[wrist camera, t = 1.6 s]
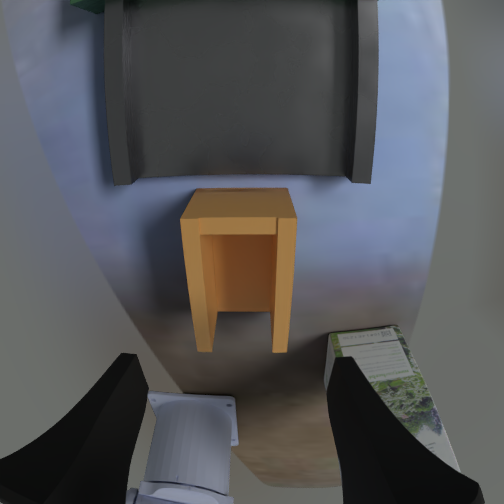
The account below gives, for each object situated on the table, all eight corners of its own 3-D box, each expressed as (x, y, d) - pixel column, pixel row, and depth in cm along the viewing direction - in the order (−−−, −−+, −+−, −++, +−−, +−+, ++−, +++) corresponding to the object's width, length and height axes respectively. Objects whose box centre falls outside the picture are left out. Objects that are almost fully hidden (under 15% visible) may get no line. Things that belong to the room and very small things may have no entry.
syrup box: (321, 379, 25) (347, 542, 12) (327, 328, 22) (369, 526, 9) (385, 370, 25) (430, 520, 12) (399, 320, 22) (471, 492, 9)
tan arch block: (281, 303, 21) (286, 352, 17) (207, 303, 21) (197, 351, 17) (287, 187, 17) (297, 218, 13) (197, 188, 17) (180, 218, 14)
